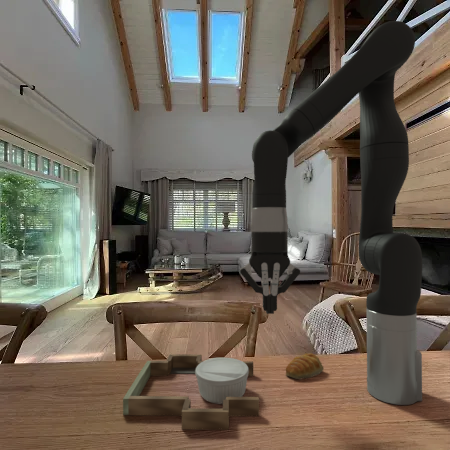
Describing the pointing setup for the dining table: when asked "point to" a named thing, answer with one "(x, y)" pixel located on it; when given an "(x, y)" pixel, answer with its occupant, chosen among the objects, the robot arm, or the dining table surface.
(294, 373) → the pastry
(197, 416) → the box
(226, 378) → the ramekin
